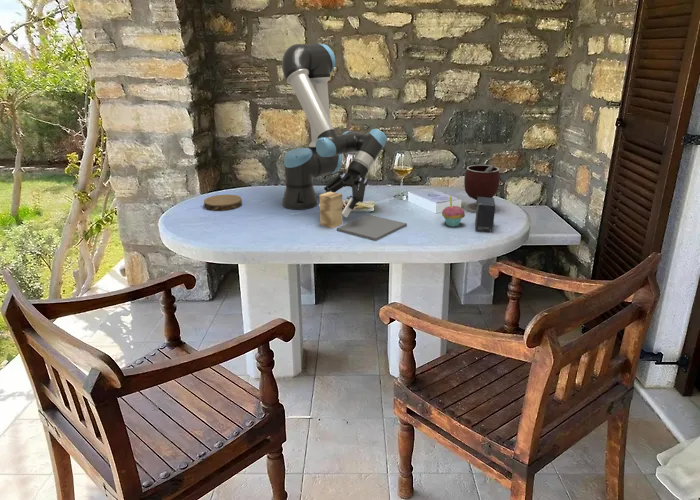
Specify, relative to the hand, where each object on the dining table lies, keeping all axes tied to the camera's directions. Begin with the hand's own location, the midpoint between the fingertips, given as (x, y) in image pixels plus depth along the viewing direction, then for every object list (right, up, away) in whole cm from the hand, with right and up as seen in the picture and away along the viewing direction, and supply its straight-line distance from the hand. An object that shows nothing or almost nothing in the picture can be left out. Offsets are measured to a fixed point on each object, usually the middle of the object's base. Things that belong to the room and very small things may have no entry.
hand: (332, 211), depth 196 cm
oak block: (0, -5, +3) cm, 6 cm away
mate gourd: (+61, +2, +19) cm, 64 cm away
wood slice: (-48, +4, +28) cm, 56 cm away
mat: (+15, -6, -1) cm, 16 cm away
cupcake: (+46, -5, +2) cm, 46 cm away
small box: (+57, -6, -2) cm, 57 cm away
